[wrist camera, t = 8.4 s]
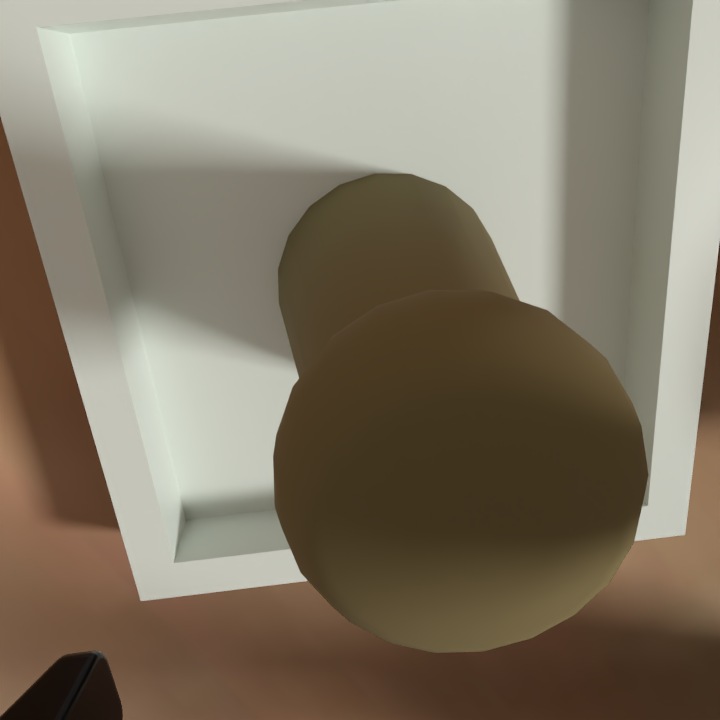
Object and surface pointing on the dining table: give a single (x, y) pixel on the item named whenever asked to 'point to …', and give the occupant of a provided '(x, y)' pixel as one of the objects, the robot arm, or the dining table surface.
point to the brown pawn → (443, 429)
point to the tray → (317, 178)
